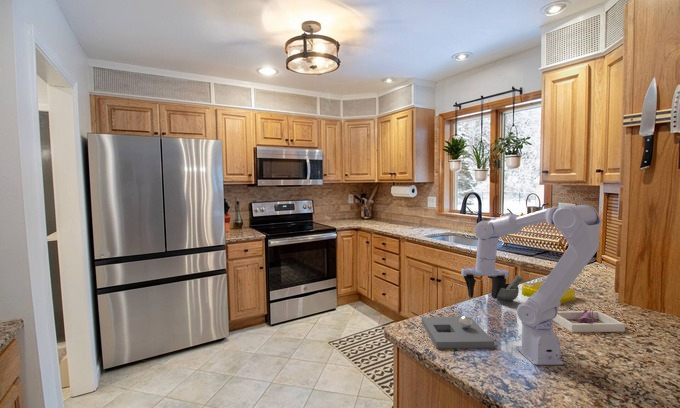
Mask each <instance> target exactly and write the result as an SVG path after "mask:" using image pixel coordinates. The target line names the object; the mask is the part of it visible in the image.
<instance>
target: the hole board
mask: <svg viewBox="0 0 680 408" xmlns="http://www.w3.org/2000/svg"><path fill="white" fill-rule="evenodd" d="M460 317H461V316H429V317H428V316H427V317H425V316H422V317H421V324H422V327H423V329H424V330H425V331H426V332H427V335H428V337H429V338H430V340H431V342H432V344H433V345H434V347H435V348H436V349H494V348H495V340H494V339H492V337H491V336H490V335H489V334H488V333H487V332H486V331H484V329H483V328H482V327H481V326H480V325H479V324H478V323H477V322H476V321H475V320H474V319H473V318H472V317H471V316H469V317H470V318H471V320H472V326H471V327H470V328H468V329H465V328H463V327H461V326H460V324H459V319H460ZM439 331H440V332H439ZM443 331H444V332H443ZM445 331H446V332H445ZM447 331H448V332H447ZM449 331H450V332H449Z"/></svg>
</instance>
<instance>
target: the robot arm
mask: <svg viewBox="0 0 680 408" xmlns="http://www.w3.org/2000/svg"><path fill="white" fill-rule="evenodd" d="M544 223H547V224H548V225H549V226H555V227H556V229H557V230H558V231H559V233H561V235H562V236H563V237H564V239H565V240H566V242H567V244H568V247H567V249H566V250H565V252H564V253H562V255H561V257H560V259H559V260H558V261H557V262H556V264H555V266H554V267H553V268H552V270H551V271H550V273H549V274H548V276H547V277H546V279H545V280H544V281H543V282H544V283H543V284H542V285H541V287H540V288H539V290H538V291H537V292H536V293H534V294H533V295H532V296H530V297H528V298H527V300H525V301H523V302H521V303H519V304H518V306H517V309H516V315H517V317H518V319H519V320H520V322H521V327H522V328H521V329H522V331H521V345H515V349H516V350H517V351H519V353H521V354H522V355H523V356H524V357H525V358H526V359H527V360H528V361H529V362H530V363H532V364H533V365H534V366H541V365H543V366H545V365H547V366H549V365H550V366H551V365H552V366H553V365H562V366H563V365H564V362H563V360H561V339H560V338H559V336H558V335H557V334H555V332H554V329H553V323H554V321H553V319H554V318H555V317H556V316H557V314H558V311H559V310H558V309H559V307H560V306H561V305H562V304H561V303H560V301H559V300H560V299H561V297H562V296H563V295H564V293H565V292H566V291H567V289H568V288H570V287H571V286H572V284H573V283H574V282H575V280H577V278H578V276H579V275H580V274H581V273H582V271H583V270H584V268H586V266H587V265H588V264H589V262H590V261H591V260H592V258H593V257H594V256H595V254H596V253H597V252H598V250H599V246H600V244H599V243H600V227H601V225H602V223H603V221H602V218H601V216H600V214H599V212H598V211H597V209H596V208H595V207H594V206H592V205H590V204H578V205H563V206H558V207H547V208H546V207H545V208H543V209H540V210H537V211H533V212H530V213H527V214H523V215H517V214H516V213H511V212H507V213H504V214H503V216H499V217H495V216H494V217H491V218H490V219H489V220H481V221H478V222H477V223H476V225H475V227H474V231H475V235H476V236H477V247H476V258H475V267H466V268H463V267H462V268H461V269H460V275H461V276H462V277H463V278H464V279H463V280H464V281H465V285H466V288H467V294H468V297H469V298H471V299H473V298H474V294H475V293H474V292H475V291H474V289H475V285H476V281H477V280H476V279H475V277H491V282H492V283H491V293H490V294H491V297H492V298H493V299H494V300H495V299H496V300H497V295H498V293H499V291H500V289H501V288H502V286H503V285H504V284H505V283H507V278H509V275H510V274H509V271H508V270H507V269H498V268H496V261H497V251H498V243H499V239H500V238H501V237H504V236H508V235H513V234H518V233H519V234H520V232H521V231H522V230H523V228H525V227H528V226H533V225H539V224H544Z"/></svg>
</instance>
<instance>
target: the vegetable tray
mask: <svg viewBox="0 0 680 408" xmlns="http://www.w3.org/2000/svg"><path fill="white" fill-rule="evenodd" d="M584 311H585V310H581V311H580V310H576V311H575V310H573V311H572V310H566V311H565V310H562V311H559V310H558V314H557V316H556V317H555V318H554V319H553V322H555V323H556V324H558V325H560V326H561V327H563V328H564V329H566V330H568V331H569V332H570V333H612V332H614V333H619V332H622V333H624V332H626V324H625V323H623V322H621V321H619V320H618V319H615V318H613V317H611V316H609V315H607V314H605V313H604V312H601V311H600V310H593V314H594V316H593V317H594V320H598V321H600V322H594V323H579V322H576V323H574V322H572V321H570V320H578V319H579V318H580V317H581V316H582V315H583V312H584ZM589 311H590V310H587V312H589ZM591 315H592V310H591ZM589 320H591V318H589Z"/></svg>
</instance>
